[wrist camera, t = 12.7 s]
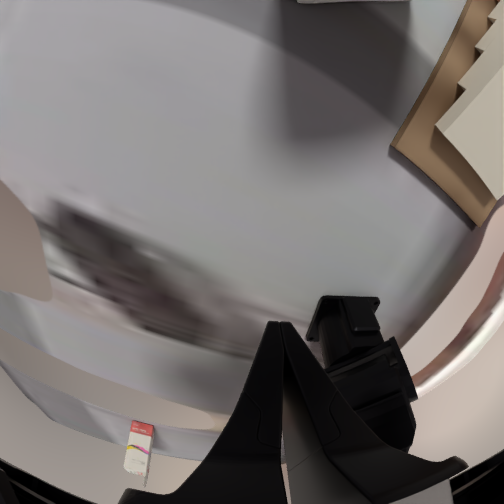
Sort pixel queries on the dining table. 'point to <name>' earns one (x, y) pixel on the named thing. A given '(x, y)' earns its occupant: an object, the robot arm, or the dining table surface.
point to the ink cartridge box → (139, 449)
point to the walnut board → (436, 105)
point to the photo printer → (328, 0)
